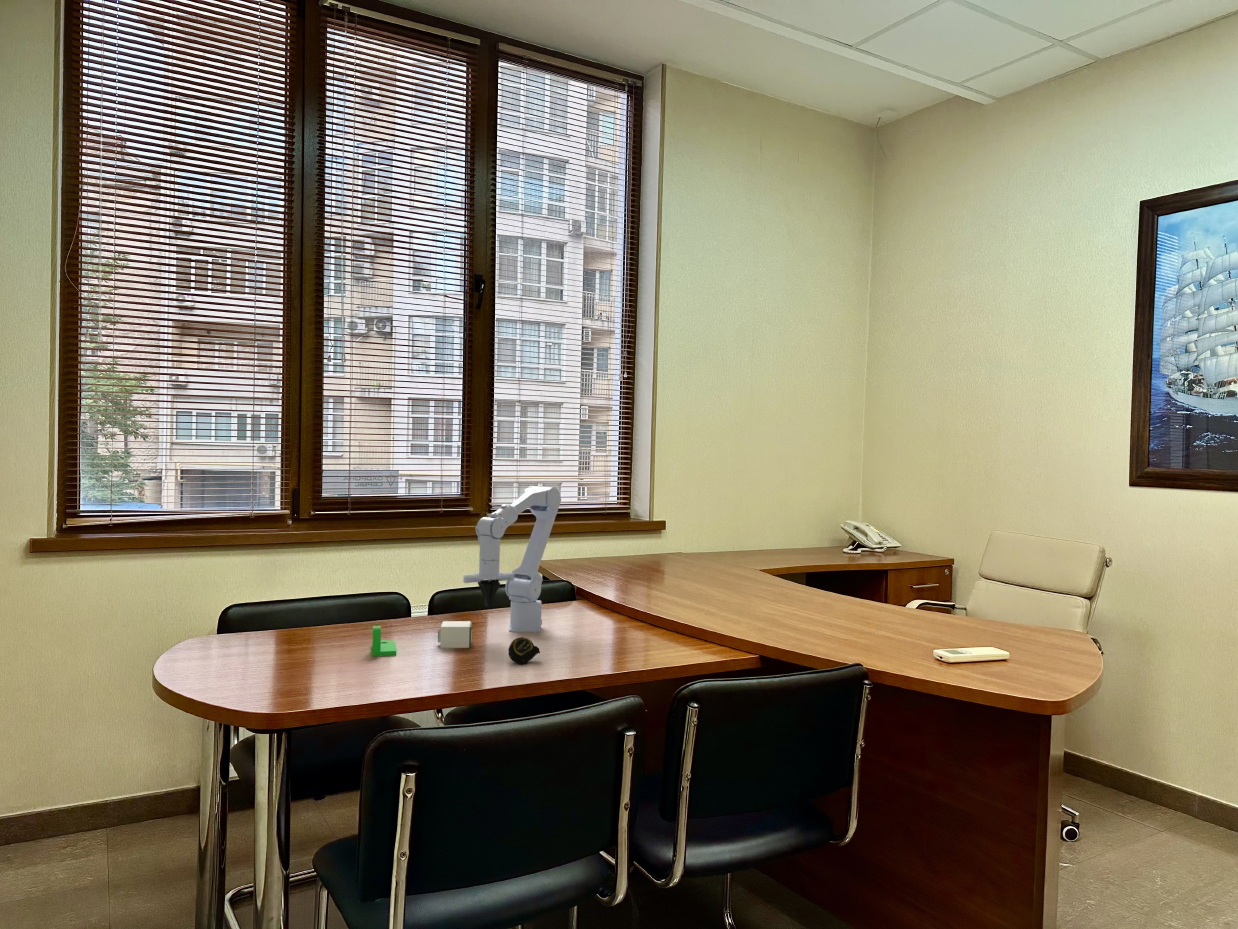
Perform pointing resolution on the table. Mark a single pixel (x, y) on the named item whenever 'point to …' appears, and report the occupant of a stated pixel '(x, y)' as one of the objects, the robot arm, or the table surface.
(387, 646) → the mechanical part
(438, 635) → the steel pin
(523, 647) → the tape measure
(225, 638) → the table surface
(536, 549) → the robot arm
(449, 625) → the white block
